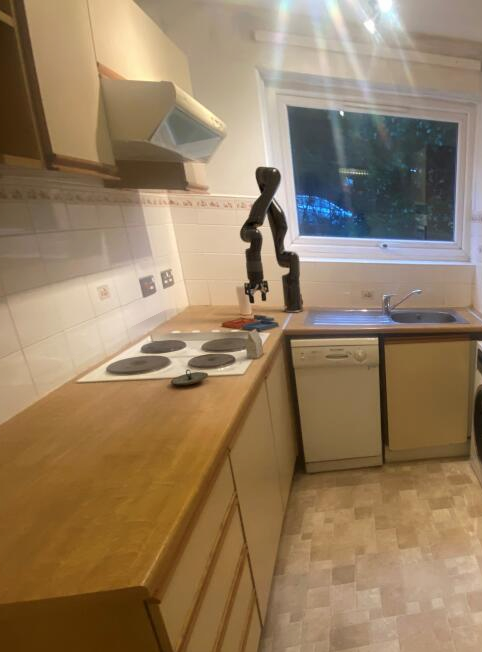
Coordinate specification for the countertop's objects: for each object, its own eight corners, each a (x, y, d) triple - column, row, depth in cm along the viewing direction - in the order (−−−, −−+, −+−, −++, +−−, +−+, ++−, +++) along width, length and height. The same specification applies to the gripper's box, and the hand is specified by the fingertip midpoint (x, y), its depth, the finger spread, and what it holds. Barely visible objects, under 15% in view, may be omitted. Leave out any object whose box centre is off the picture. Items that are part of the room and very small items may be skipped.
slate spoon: (252, 319, 227) (252, 315, 226) (257, 317, 230) (257, 314, 229) (269, 321, 224) (269, 317, 223) (274, 320, 227) (273, 316, 226)
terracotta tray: (242, 321, 221) (242, 317, 221) (258, 323, 219) (258, 319, 218) (222, 326, 209) (221, 322, 209) (238, 328, 207) (238, 324, 206)
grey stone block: (263, 353, 173) (260, 328, 170) (257, 358, 167) (254, 333, 163) (253, 353, 173) (250, 328, 169) (247, 358, 166) (244, 332, 163)
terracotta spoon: (235, 326, 209) (235, 322, 208) (229, 325, 210) (229, 321, 209) (251, 322, 218) (251, 318, 218) (245, 321, 219) (245, 317, 218)
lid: (210, 389, 140) (212, 374, 139) (174, 388, 133) (175, 372, 132) (202, 381, 147) (204, 367, 146) (167, 379, 140) (169, 364, 139)
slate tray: (262, 323, 218) (261, 320, 217) (278, 326, 216) (278, 322, 215) (242, 329, 206) (242, 325, 206) (259, 331, 204) (259, 327, 203)
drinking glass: (239, 313, 238) (235, 285, 232) (253, 312, 241) (249, 285, 235) (239, 315, 232) (235, 287, 227) (253, 315, 235) (250, 287, 230)
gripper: (250, 271, 211) (254, 304, 216) (270, 269, 224) (273, 300, 229) (238, 270, 213) (241, 303, 218) (258, 268, 226) (261, 299, 231)
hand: (258, 302), depth 224 cm, fingers open, 8 cm apart
